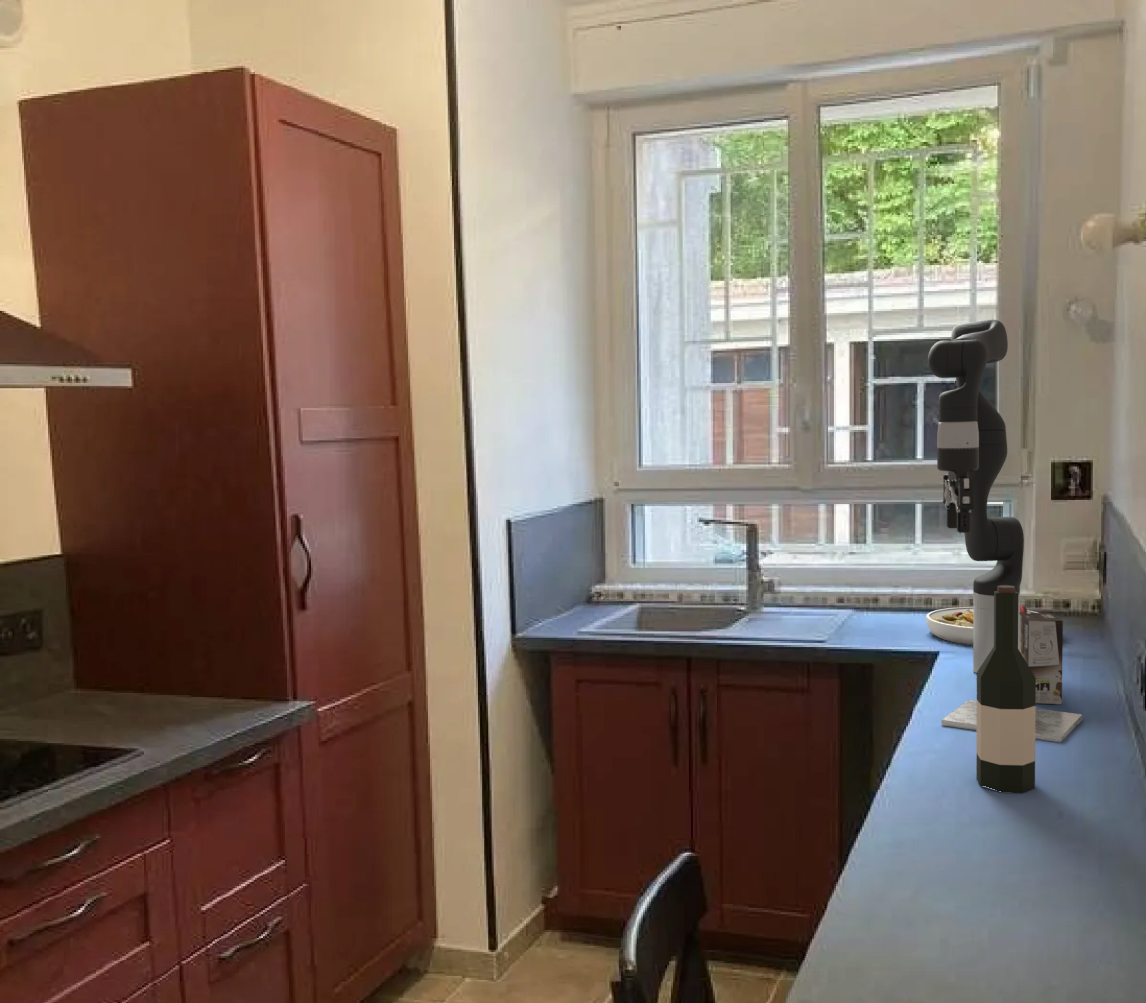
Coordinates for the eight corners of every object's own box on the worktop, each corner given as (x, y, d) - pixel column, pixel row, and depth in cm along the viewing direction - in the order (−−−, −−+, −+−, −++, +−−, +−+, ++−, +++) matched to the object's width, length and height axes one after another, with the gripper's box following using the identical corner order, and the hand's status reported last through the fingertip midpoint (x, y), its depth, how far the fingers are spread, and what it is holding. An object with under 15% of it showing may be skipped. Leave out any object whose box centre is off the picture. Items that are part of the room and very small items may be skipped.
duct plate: (968, 705, 211) (968, 674, 210) (1082, 720, 199) (1082, 687, 198) (941, 725, 198) (941, 692, 197) (1060, 742, 186) (1061, 707, 186)
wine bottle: (1029, 797, 161) (1031, 592, 158) (970, 788, 165) (970, 588, 163) (1039, 780, 168) (1041, 584, 165) (982, 772, 172) (982, 580, 170)
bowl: (1047, 654, 253) (1048, 620, 252) (913, 644, 268) (913, 611, 267) (1063, 630, 279) (1063, 600, 278) (940, 622, 294) (940, 593, 293)
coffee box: (1063, 704, 209) (1064, 620, 208) (1027, 703, 211) (1027, 620, 209) (1052, 692, 218) (1053, 611, 217) (1018, 692, 220) (1018, 611, 218)
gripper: (987, 446, 204) (987, 534, 205) (969, 444, 218) (969, 526, 219) (945, 447, 204) (946, 534, 206) (929, 445, 219) (930, 526, 220)
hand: (957, 530), depth 212 cm, fingers open, 8 cm apart
